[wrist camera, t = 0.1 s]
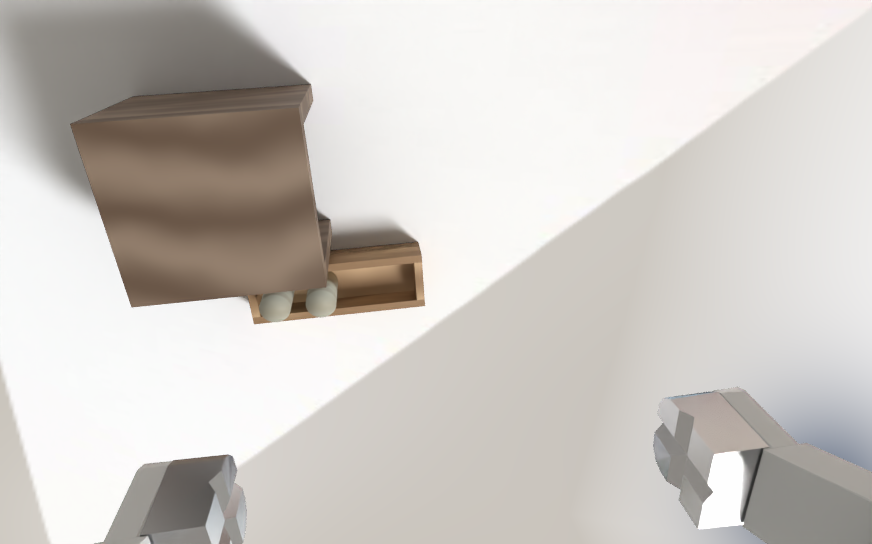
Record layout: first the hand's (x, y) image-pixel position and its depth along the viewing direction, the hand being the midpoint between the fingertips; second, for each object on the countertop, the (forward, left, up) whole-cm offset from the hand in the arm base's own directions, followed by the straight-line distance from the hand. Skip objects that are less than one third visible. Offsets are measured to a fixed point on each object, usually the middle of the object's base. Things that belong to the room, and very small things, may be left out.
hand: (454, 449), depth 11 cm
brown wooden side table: (+7, -14, -48) cm, 50 cm away
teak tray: (+19, -6, -48) cm, 52 cm away
